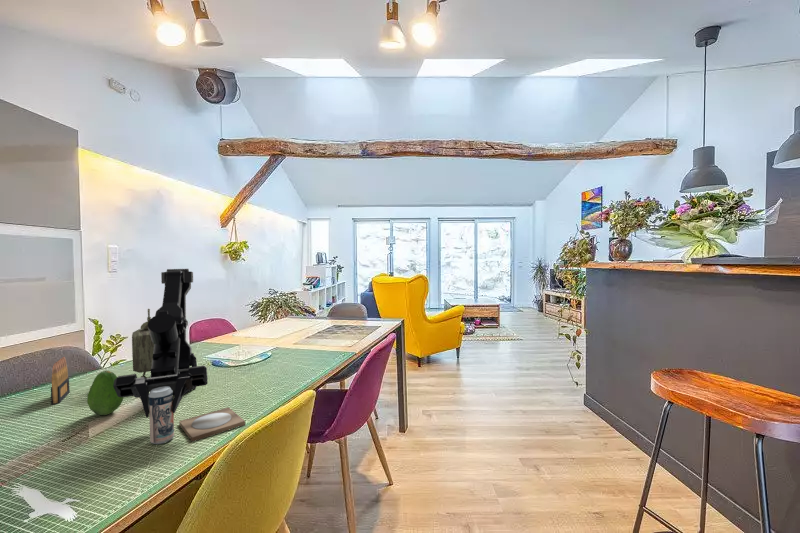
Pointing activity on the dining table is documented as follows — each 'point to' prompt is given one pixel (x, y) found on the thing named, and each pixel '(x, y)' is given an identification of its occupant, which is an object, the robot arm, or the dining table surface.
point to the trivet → (211, 423)
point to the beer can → (161, 415)
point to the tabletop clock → (142, 348)
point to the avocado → (103, 394)
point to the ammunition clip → (59, 381)
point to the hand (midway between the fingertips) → (160, 414)
